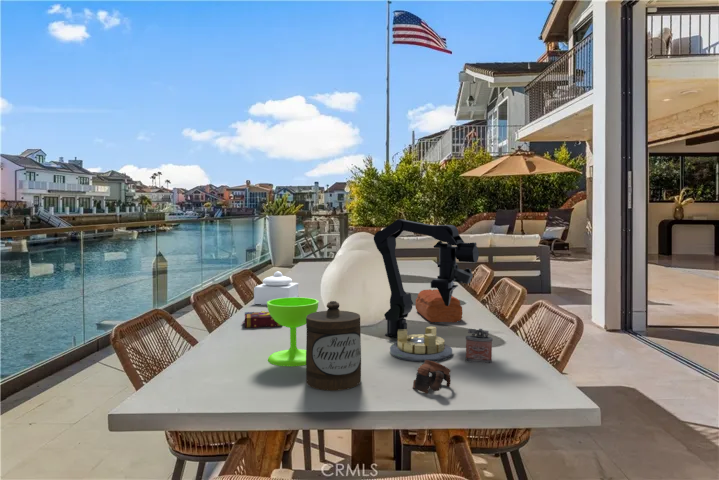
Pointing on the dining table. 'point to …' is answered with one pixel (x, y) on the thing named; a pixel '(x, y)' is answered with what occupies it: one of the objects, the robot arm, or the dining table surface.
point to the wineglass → (291, 326)
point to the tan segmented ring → (430, 343)
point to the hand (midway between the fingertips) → (447, 305)
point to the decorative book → (259, 320)
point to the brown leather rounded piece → (435, 380)
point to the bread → (438, 307)
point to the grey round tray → (420, 357)
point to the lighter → (478, 347)
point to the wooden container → (333, 349)
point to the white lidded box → (275, 289)
